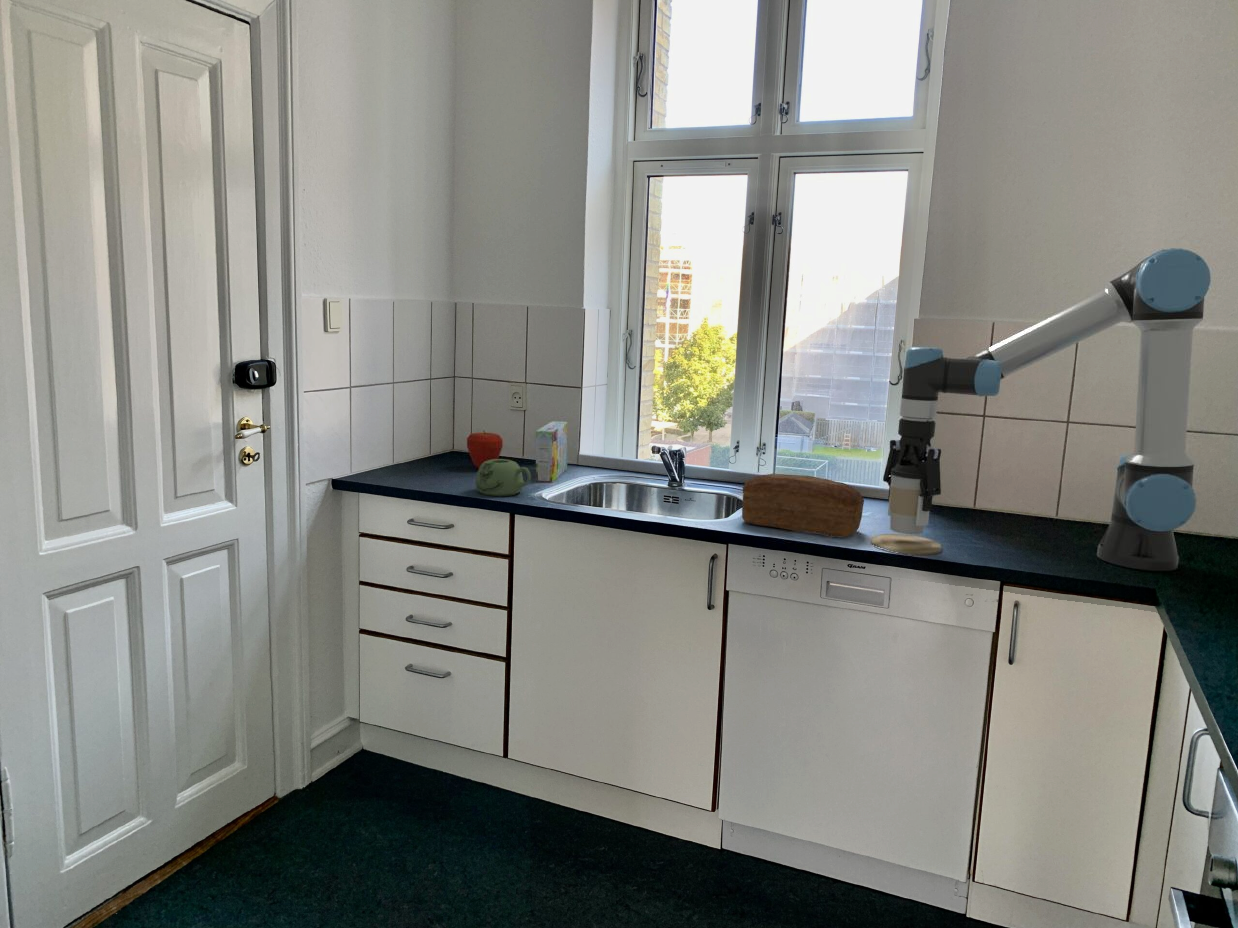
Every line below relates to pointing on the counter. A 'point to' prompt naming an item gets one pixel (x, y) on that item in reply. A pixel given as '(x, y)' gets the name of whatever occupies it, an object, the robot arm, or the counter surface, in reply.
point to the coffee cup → (905, 499)
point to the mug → (501, 477)
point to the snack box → (551, 451)
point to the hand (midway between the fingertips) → (907, 519)
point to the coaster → (906, 544)
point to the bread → (802, 504)
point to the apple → (484, 447)
